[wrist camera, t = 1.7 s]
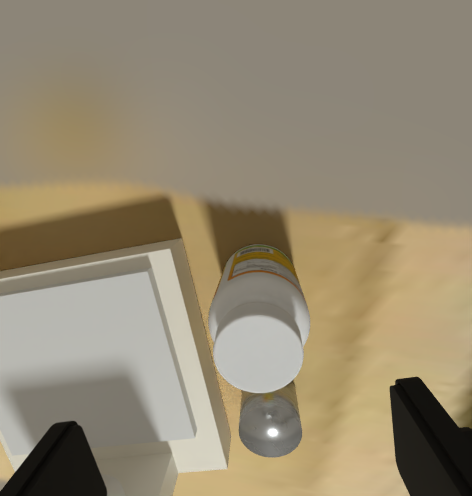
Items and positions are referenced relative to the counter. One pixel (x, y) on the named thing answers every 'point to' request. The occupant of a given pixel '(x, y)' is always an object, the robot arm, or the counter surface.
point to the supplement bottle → (259, 320)
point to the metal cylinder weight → (270, 421)
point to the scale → (113, 365)
